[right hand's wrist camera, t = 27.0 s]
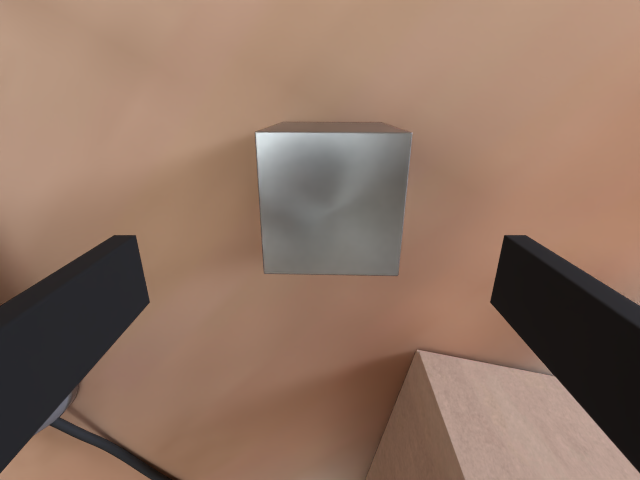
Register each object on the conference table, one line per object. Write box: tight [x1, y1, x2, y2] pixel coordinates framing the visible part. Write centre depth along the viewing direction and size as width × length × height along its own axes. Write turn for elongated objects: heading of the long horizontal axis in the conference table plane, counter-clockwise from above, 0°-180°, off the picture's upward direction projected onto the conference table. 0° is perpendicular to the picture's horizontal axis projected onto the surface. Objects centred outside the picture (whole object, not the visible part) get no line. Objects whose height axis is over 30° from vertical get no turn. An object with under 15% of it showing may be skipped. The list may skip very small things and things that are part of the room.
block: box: [255, 122, 412, 276], centre depth 24 cm, size 8×8×11 cm
